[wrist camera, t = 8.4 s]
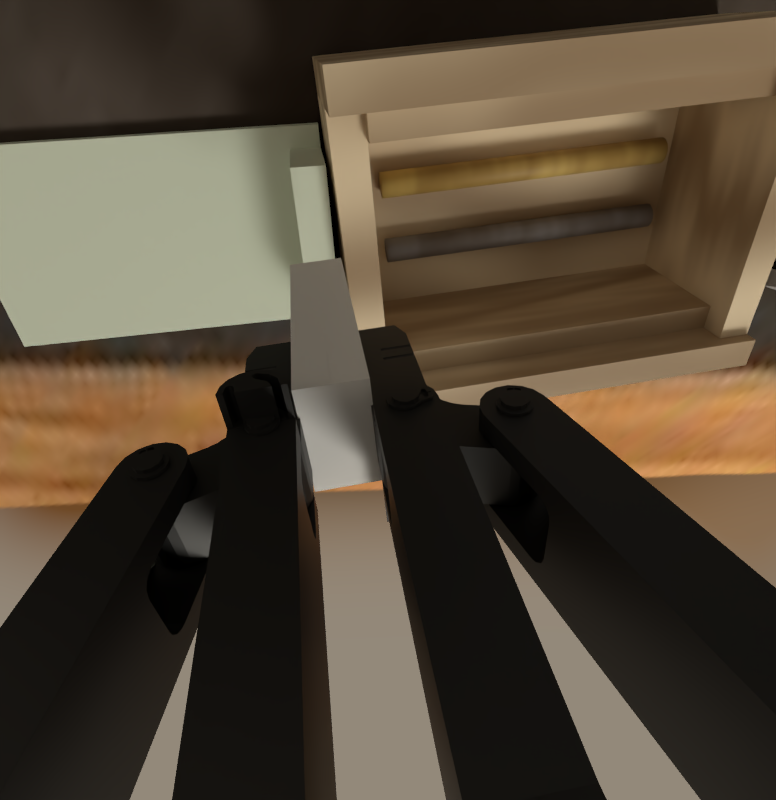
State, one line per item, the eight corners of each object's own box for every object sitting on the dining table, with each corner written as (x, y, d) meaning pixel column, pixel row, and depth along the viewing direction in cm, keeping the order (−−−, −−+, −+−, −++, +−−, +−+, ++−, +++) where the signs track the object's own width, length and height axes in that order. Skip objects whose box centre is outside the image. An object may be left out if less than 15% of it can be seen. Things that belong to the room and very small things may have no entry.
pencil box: (311, 56, 19) (322, 64, 13) (718, 13, 20) (887, 5, 14) (351, 341, 26) (370, 426, 20) (650, 296, 27) (745, 364, 21)
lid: (-63, 144, 19) (-146, 170, 15) (316, 120, 20) (322, 138, 17) (33, 336, 24) (-13, 390, 20) (336, 305, 25) (344, 350, 21)
